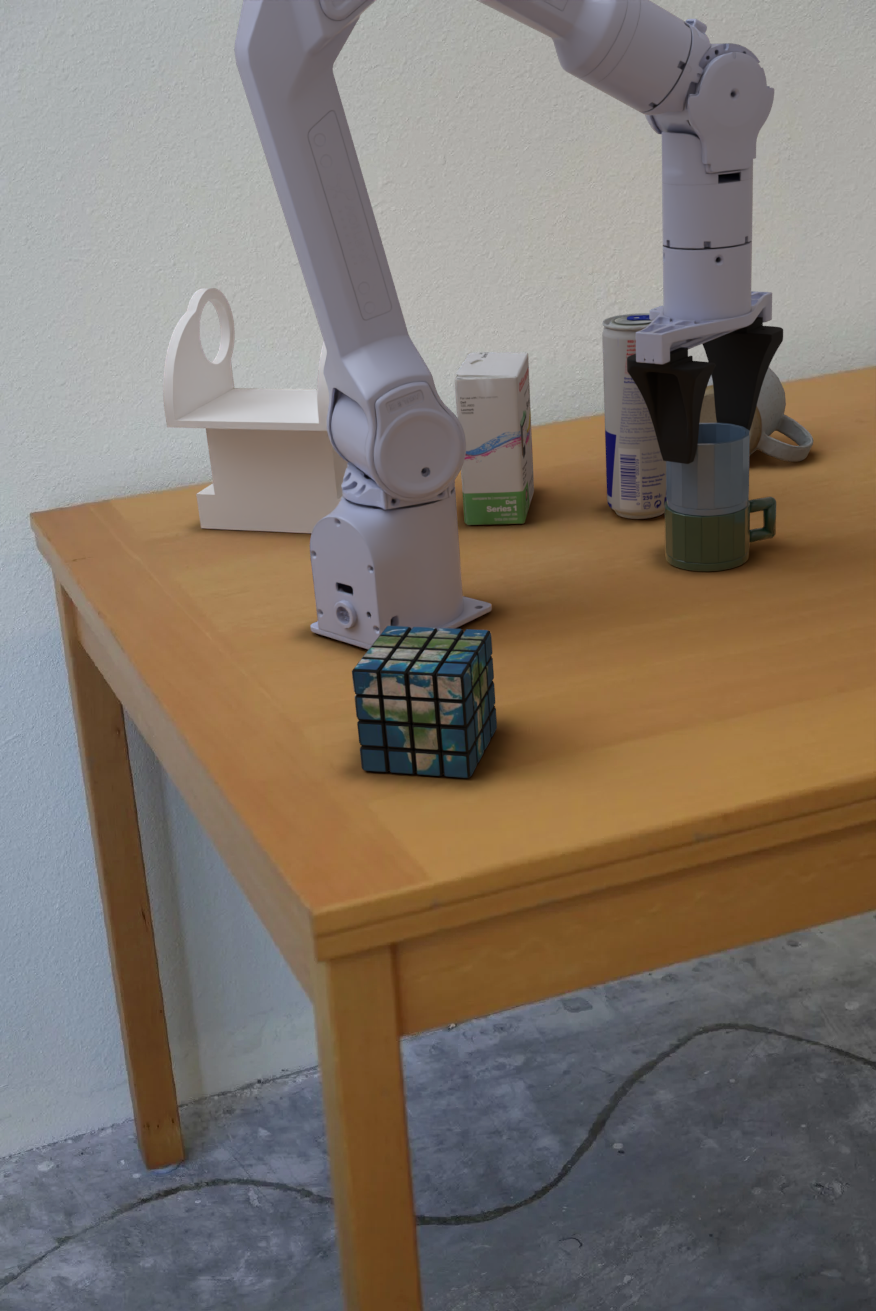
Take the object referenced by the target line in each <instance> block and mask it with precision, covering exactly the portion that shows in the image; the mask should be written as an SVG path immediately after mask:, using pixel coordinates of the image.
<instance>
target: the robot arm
mask: <svg viewBox="0 0 876 1311" xmlns="http://www.w3.org/2000/svg"><path fill="white" fill-rule="evenodd" d="M376 1H377V0H242V5H241V10H240V15H239V21H238V25H237V30H236V35H235V40H234V48H233V50H234V55H235V56H234V59H235V64H236V67H237V68H236V69H237V72H238V74H239V77H240V81H241V84H242V87H243V91H244V94H245V96H246V100H247V103H248V105H249V109H250V112H251V115H252V119H253V122H254V124H255V128H256V130H257V134H258V138H259V142H260V143H261V146H262V150H263V153H264V156H265V159H266V163H267V166H268V169H269V172H270V176H271V178H272V182H273V184H274V187H275V192H276V194H277V197H278V200H279V204H280V206H281V207H280V208H281V210H282V214H283V217H284V220H285V222H286V223H285V224H286V226H287V229H288V233H289V235H290V238H291V242H292V244H293V248H294V251H295V255H296V257H297V261H298V263H299V268H300V270H301V274H302V276H303V281H304V283H305V286H306V289H307V292H308V295H309V299H310V302H311V305H312V308H313V311H314V314H315V318H316V321H317V324H318V327H319V330H320V333H321V337H322V340H323V341H324V343H325V346H326V349H327V356H326V360H325V365H324V372H323V373H324V377H325V380H326V383H327V387H328V391H329V407H328V413H327V433H328V437H329V440H330V443H331V444H332V446H333V448H334V450H335V451H336V452H337V453H338V455H339V456H340V457H342V458H343V459H344V460H345V461H347V462H348V463H347V469H346V471H345V475H344V478H343V483H342V484H341V486H342V494H343V496H342V498H341V500H340V502H339V504H338V506H337V507H336V508H335V509H334V510H333V511H332V512H331V513H330V514H328V515H327V516H325V517H323V518H322V519H321V520H319V521H318V522H317V523H316V525H315V526H314V528H313V531H312V533H310V539H309V555H310V556H309V557H310V565H311V573H312V574H311V575H312V581H313V582H312V583H313V591H314V600H315V609H316V616H317V621H315V622H313V623H310V626H309V628H310V632H311V633H313V634H317V635H320V636H322V637H323V636H324V637H327V638H331V639H333V640H336V641H339V642H343V643H346V644H349V645H353V646H355V647H359V648H362V649H365V650H367V651H368V650H369V648H370V647H371V646H372V645H373V643H374V642H375V641H376V639H377V638H378V637H379V636H380V634H381V633H382V632H383V631H384V629H385V628H386V627H387V626H404V627H411V629H412V628H413V627H429V628H437V631H438V629H439V628H452V629H458V628H459V627H462V626H463V625H466V624H468V623H470V622H472V621H474V620H475V619H478V618H481V617H482V616H483V615H486V614H488V613H490V612H491V611H492V610H493V608H492V607H493V606H492V603H490V602H488V601H483V600H480V599H476V598H473V597H468V596H465V595H464V594H463V592H464V591H463V580H462V578H463V577H462V566H461V565H462V564H461V550H460V536H459V524H458V522H459V521H458V506H457V494H456V493H457V492H456V479H457V477H459V474H460V473H461V468H462V466H463V463H464V459H465V454H466V439H465V434H464V430H463V428H462V425H461V423H460V421H459V420H458V418H457V414H455V413H454V412H453V411H452V410H451V408H449V406H447V405H446V404H445V403H444V401H443V400H442V398H441V397H440V395H439V393H438V390H437V387H436V385H435V381H434V377H433V374H432V372H431V370H430V369H429V367H428V365H427V364H426V362H425V360H424V359H423V357H422V355H421V354H420V352H419V350H418V349H417V347H416V345H415V344H414V342H413V340H412V339H411V337H410V334H409V331H408V327H407V324H406V320H405V317H404V314H403V309H402V306H401V304H400V300H399V297H398V296H399V295H398V293H397V289H396V286H395V282H394V279H393V275H392V272H391V268H390V266H389V261H388V259H387V258H388V257H387V255H386V251H385V248H384V244H383V240H382V237H381V234H380V231H379V227H378V223H377V221H376V220H377V219H376V216H375V212H374V209H373V207H372V203H371V200H370V196H369V192H368V189H367V185H366V182H365V178H364V174H363V172H362V171H363V170H362V168H361V164H360V161H359V157H358V154H357V151H356V147H355V144H354V140H353V136H352V133H351V129H350V127H349V122H348V119H347V116H346V113H345V109H344V107H343V106H344V105H343V102H342V99H341V95H340V92H339V88H338V85H337V81H336V77H335V75H334V65H335V63H336V60H337V59H338V57H339V55H340V54H341V51H342V50H343V48H344V46H345V44H346V42H347V41H348V39H349V37H350V35H351V34H352V32H353V30H354V29H355V26H357V23H358V22H359V20H360V17H361V15H362V14H363V13H364V12H366V10H368V8H370V7H371V6H372V5H373V4H374V3H375V2H376ZM476 1H477V2H479V3H481V4H483V5H485V6H487V7H489V8H491V9H494V10H495V11H496V12H499V13H501V14H503V15H504V16H507V17H508V18H511V19H513V20H515V21H517V22H519V23H521V24H523V25H525V26H526V27H529V28H531V29H533V30H535V31H537V32H539V33H541V34H543V35H545V36H547V37H549V38H550V39H551V40H552V42H553V45H554V49H555V53H556V56H557V59H558V62H559V64H560V66H561V68H562V70H563V71H565V72H566V73H567V74H569V75H572V76H573V77H574V78H577V79H578V80H581V81H583V82H585V83H586V84H588V85H590V86H592V87H593V88H595V89H597V90H599V91H600V92H602V93H604V94H606V95H608V96H610V97H612V98H613V99H615V100H617V101H619V102H620V103H623V104H624V105H626V106H628V107H629V108H632V109H633V110H635V111H637V112H639V113H640V114H643V115H644V116H645V118H646V121H647V123H648V125H649V126H650V128H651V129H652V130H653V131H654V133H656V134H657V135H661V211H662V213H661V216H662V223H661V224H662V304H663V305H659V306H656V307H653V308H651V309H649V312H648V313H649V319H650V320H652V322H651V323H650V324H649V325H648V326H647V327H646V328H644V329H642V330H640V331H638V332H636V354H633V355H631V356H629V357H628V358H627V372H628V373H629V375H630V376H631V378H632V379H633V381H634V382H635V384H636V385H637V387H638V389H639V391H640V393H641V395H642V397H643V399H644V401H645V403H646V406H647V408H648V411H649V413H650V417H651V420H652V423H653V426H654V430H655V434H656V437H657V441H658V445H659V449H660V452H661V456H662V459H663V461H669V462H676V463H683V464H690V463H692V462H694V458H695V455H696V450H697V445H698V435H699V423H700V413H701V408H702V403H703V398H704V395H705V391H706V388H707V385H708V382H709V379H710V377H711V375H712V381H713V388H714V401H715V413H716V420H717V423H728V424H735V425H739V426H743V427H745V428H746V429H748V430H749V431H750V429H751V426H752V422H753V418H754V414H755V410H756V406H757V402H758V398H759V394H760V391H761V387H762V384H763V381H764V378H765V375H766V372H767V370H768V368H770V366H771V362H772V360H773V359H774V357H775V355H776V353H777V351H778V349H779V348H780V346H781V344H782V343H783V340H784V328H782V327H781V326H772V325H771V326H770V325H764V323H768V322H770V321H772V319H773V292H772V291H756V290H752V276H753V275H752V273H753V272H752V268H753V267H752V266H753V265H752V264H753V262H752V261H753V255H752V254H753V205H754V203H753V202H754V201H753V200H754V198H753V197H754V196H753V195H754V160H755V159H757V140H758V136H759V133H760V131H761V129H762V128H763V126H764V125H765V123H766V122H767V120H768V118H769V115H770V113H771V111H772V107H773V104H774V100H775V88H774V87H771V86H770V85H768V84H767V83H768V82H767V76H766V73H765V70H764V67H762V66H761V65H760V64H759V63H761V61H760V60H759V58H758V56H757V55H755V53H754V52H753V51H752V50H750V49H749V48H747V47H745V46H743V45H741V44H738V43H734V42H733V43H732V42H731V43H730V42H728V43H727V42H726V43H725V42H724V43H711V41H710V38H709V36H708V35H707V34H706V32H707V30H708V25H707V24H705V23H704V22H702V21H701V20H699V19H698V18H687V19H685V20H684V19H682V18H680V17H678V16H677V15H675V14H673V13H672V12H670V11H669V10H667V9H665V8H663V7H662V6H660V5H659V4H657V3H655V2H654V1H652V0H476ZM700 345H702V346H703V349H704V352H705V356H706V358H707V361H700V360H694V359H693V358H694V357H693V355H689V350H690V349H694V348H695V347H698V346H700Z"/></svg>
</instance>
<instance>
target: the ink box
mask: <svg viewBox="0 0 876 1311" xmlns="http://www.w3.org/2000/svg"><path fill="white" fill-rule="evenodd" d="M529 362H530V361H529V353H528V352H527V351H525V352H524V351H520V352H518V351H516V352H515V351H514V352H513V351H511V352H509V351H474V352H469V353H468V354H467V356H465V358H464V361H462V363H461V364H460V366H459V367H458V369H457V370H456V372H455V375H456V376H455V378H454V393H455V406H456V407H455V408H456V417H457V418H458V420H459V421H460V423H461V425H462V428H463V430H464V434H465V439H466V454H465V459H464V463H463V466H462V468H461V470H460V477H461V494H462V506H463V521H464V524H465V525H467V526H477V525H478V526H480V525H481V526H482V525H483V526H484V525H521V524H522V525H523V524H525V522H526V519H527V516H528V512H529V509H530V506H531V504H532V499H533V496H534V493H535V480H534V479H535V478H534V457H533V456H534V455H533V435H532V412H531V411H532V410H531V390H530V389H531V388H530V365H529V364H530V363H529Z"/></svg>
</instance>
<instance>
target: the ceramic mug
mask: <svg viewBox="0 0 876 1311" xmlns="http://www.w3.org/2000/svg"><path fill="white" fill-rule="evenodd" d="M786 406H787V400H786V391H785V389H784V386H783V384H782V382H781V380H780V378H779V376H778V375H777V374H776V373H775V372H774V371H773V370H772V368H770V367H769V368H768V370H767V372H766V375H765V378H764V381H763V384H762V387H761V391H760V394H759V398H758V402H757V406H756V410H755V414H754V418H753V422H752V426H751V429H750V453H749V457H750V456H751V455H752V454H754V453H755V452H756V451H759V452H761V453H762V454H765V455H767V456H769V457H771V458H774V459H777V460H780V461H783V462H790V463H796V462H798V463H799V462H801V461H804V460H806V459H807V457H808V455H809V454H810V451H811V449H812V447H813V445H814V436H812V433H811V432H809V430H808V429H806V427H804V426H803V425H802V424H800V423H799V422H798V421H796V419H794V418H792V417H790V416H788V415H787V414H785V412H786ZM700 423H717V420H716V413H715V401H714V388H713V381H712V375H711V377H710V379H709V382H708V385H707V388H706V391H705V395H704V398H703V403H702V408H701V413H700ZM774 432H778V433H780V434H782V435H783V436H785V437H787V438H788V439H790V440H791V441H793V442H794V443H795V444H796V445H793V444H789V443H787V442H783V441H782V440H779V439H777V438H774V437H772V436H771V435H772V434H773V433H774Z"/></svg>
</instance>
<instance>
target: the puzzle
mask: <svg viewBox="0 0 876 1311" xmlns="http://www.w3.org/2000/svg"><path fill="white" fill-rule="evenodd" d="M492 655H493V639H492V633H491V630H488V629H474V628H473V629H470V628H469V629H468V628H466V629H462V628H455V629H452V628H439V629H438V631H437V628H429V627H413V628H412V629H411V627H404V626H387V627H386V628H385V629H384V631H383V632H382V633H381V634H380V636H379V637H378V638H377V639H376V641H375V642H374V643H373V645H372V646H371V647H370V648H369V650H368V649H367V651H366V652H365V653H364V654H363V656H362V657H361V659H360V660H359V661H358V663H357V664H356V665H354V667H353V669H352V670H351V677H352V685H353V686H352V687H353V693H354V694H355V695H354V706H355V712H356V713H355V715H356V719H357V722H356V726H357V735H358V743H359V745H360V747H359V754H360V755H359V756H360V764H361V770H362V771H365V772H377V773H388V772H389V773H392V774H403V775H415V774H416V775H418V776H419V775H420V776H431V777H432V776H433V777H442V776H443V777H447V778H458V779H470V778H471V777H472V775H473V774H474V772H475V771H476V768H477V766H478V763H479V764H480V761H481V759H482V757H483V755H484V752H485V750H487V748H488V746H489V744H490V742H491V738H493V736H494V734H495V732H496V731H497V729H498V722H497V721H498V720H497V708H496V706H495V705H496V689H495V682H494V681H493V680H494V678H495V673H494V658H493V656H492Z"/></svg>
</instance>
